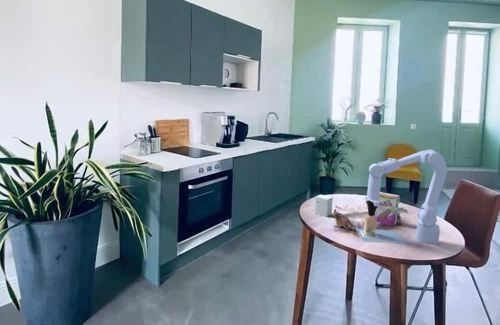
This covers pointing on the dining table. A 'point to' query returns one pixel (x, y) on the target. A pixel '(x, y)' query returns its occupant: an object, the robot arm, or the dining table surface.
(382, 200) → the candy bar box
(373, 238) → the board
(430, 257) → the dining table surface
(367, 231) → the birch block
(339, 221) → the dinosaur figurine
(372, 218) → the terracotta block
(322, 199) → the small box
